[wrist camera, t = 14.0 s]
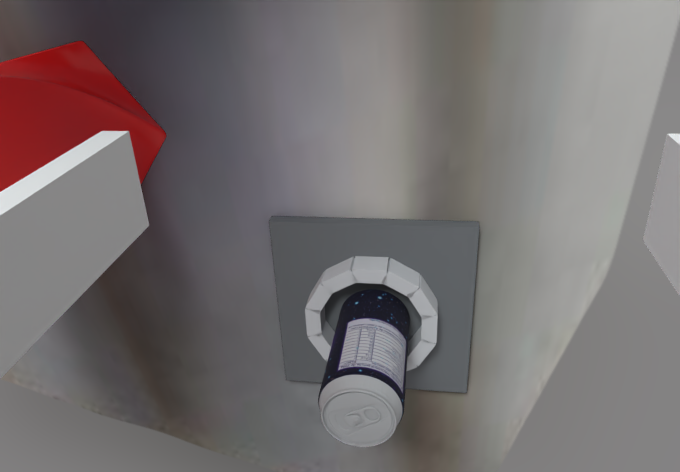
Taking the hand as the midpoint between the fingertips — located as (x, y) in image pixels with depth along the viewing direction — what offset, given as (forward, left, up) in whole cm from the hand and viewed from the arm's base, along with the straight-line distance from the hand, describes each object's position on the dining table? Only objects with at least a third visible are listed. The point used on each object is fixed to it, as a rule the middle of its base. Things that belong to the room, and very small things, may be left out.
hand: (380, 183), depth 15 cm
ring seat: (-3, -22, -27) cm, 35 cm away
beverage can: (-3, -22, -26) cm, 34 cm away
